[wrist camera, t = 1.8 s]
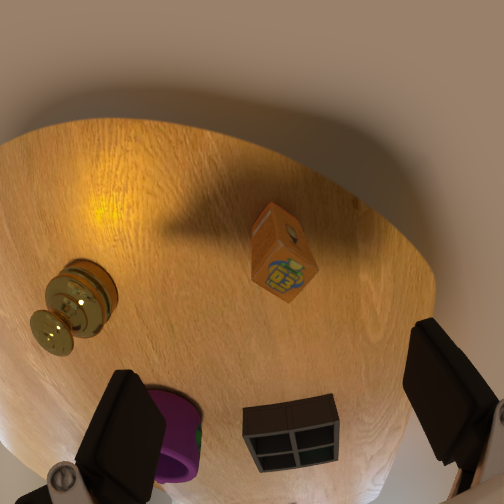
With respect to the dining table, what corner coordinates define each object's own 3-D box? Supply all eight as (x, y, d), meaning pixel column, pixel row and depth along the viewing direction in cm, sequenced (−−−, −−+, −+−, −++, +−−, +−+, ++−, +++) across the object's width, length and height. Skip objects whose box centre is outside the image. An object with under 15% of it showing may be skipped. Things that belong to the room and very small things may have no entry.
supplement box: (247, 229, 27) (246, 279, 18) (270, 199, 26) (281, 234, 17) (277, 249, 28) (289, 307, 18) (300, 220, 27) (325, 266, 17)
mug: (122, 375, 34) (97, 432, 25) (206, 390, 35) (197, 454, 25) (139, 440, 40) (126, 486, 31) (204, 452, 41) (198, 501, 32)
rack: (332, 393, 35) (339, 420, 31) (333, 437, 39) (338, 460, 35) (242, 408, 36) (242, 435, 31) (259, 449, 40) (259, 472, 36)
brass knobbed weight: (56, 261, 28) (3, 304, 19) (108, 256, 28) (58, 306, 19) (75, 317, 31) (35, 368, 21) (126, 317, 31) (91, 378, 21)
